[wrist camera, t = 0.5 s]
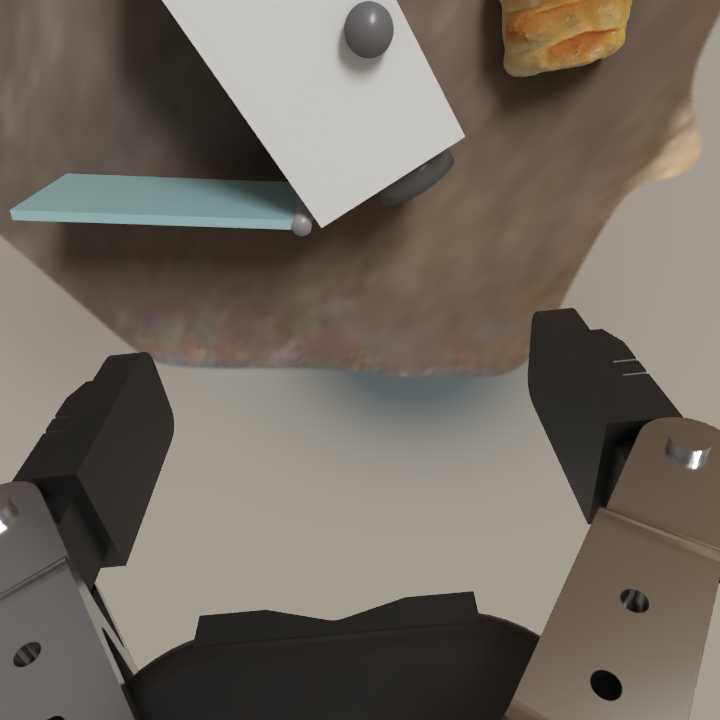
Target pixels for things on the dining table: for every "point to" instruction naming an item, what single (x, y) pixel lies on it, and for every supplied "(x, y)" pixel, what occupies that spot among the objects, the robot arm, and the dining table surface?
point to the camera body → (330, 94)
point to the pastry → (560, 33)
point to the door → (168, 202)
